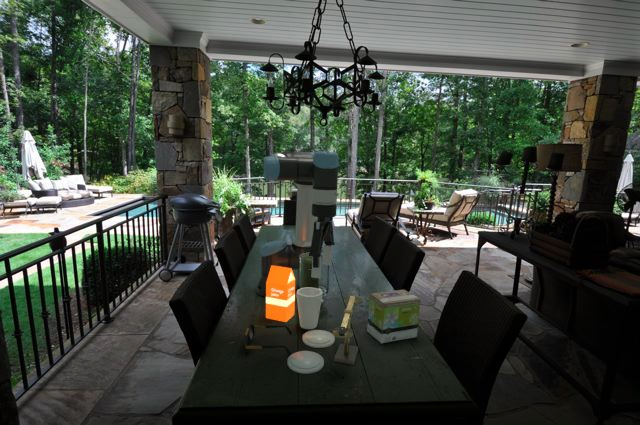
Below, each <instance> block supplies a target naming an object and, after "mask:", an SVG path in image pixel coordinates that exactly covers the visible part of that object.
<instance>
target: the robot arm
mask: <svg viewBox="0 0 640 425" xmlns="http://www.w3.org/2000/svg"><path fill="white" fill-rule="evenodd" d="M339 165H340V162H339V154H338V152H336V151H315V152H312V151H281V152H276V153H274V154H271V155H270V156H265V157H264V159H263V178H264V179H265V180H267V181H268V180H269V181H272V182H273V181H293V184H294V185H295V187H296V189H297V190H296V212H295V214H296V215H295V237H294V238H293V239H292V240H291V243H290V244H288V242H287V241H286V240H273V241H267V242H265V243H264V244H263V245H261V252H260V258H261V260H260V261H261V263H260V264H261V265H260V278H259V280H258V284H257V287H256V292H257V295H260V296H263V297H265V298H266V282H267V279H268V275H269V272H270V268H271V265H273V266H280V267H287V268H292V271H296V270H297V271H299V255H300V254H302V253H306V252H310V253H309V256H312V269H311V273H310V274H311V275H310V276H311V278H312V279H313V278H314V279H321V278H322V265H323V266H332V260H333V259H332V258H333V257H332V256H333V246H335V245H336V244H335V239H334V238H335V237H334V236H335V235H334V226H333V218H334V217H337V208H338V207H337V205H338V204H337V202H338V199H337V198H338V197H339V196H340V193H339V192H338V181H339V178H338V177H339ZM316 218H317V221H316ZM322 251H323V253H322Z"/></svg>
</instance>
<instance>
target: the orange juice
mask: <svg viewBox="0 0 640 425" xmlns="http://www.w3.org/2000/svg"><path fill="white" fill-rule="evenodd" d="M295 302H296V277H295V274H294V270H292V268H287V267H280V266H273V265H271V268H270V272H269V275H268V279H267V282H266V297H265V318H266V319H267V320H268V319H269V320H274V321H279V322H284V323H287V322H288V321H289V320H290V319H292V318H293V316H294V315H295V307H296V306H295V304H296V303H295Z"/></svg>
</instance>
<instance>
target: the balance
mask: <svg viewBox="0 0 640 425" xmlns="http://www.w3.org/2000/svg"><path fill="white" fill-rule="evenodd" d="M343 302H344V303H345V304H347V306H346V308H344V311H343V319H342V322H341V325H340V326H338V327H335V328H333V330H332V334H333V335H334V337H335V338H338V339H340V340H341V339H343V340H344V343H339V345H338V348H337V350H336V353H335V355H334V358H333V362H334V363H341V364H344V365H345V364H346V365H354V364H355V360H356V358H357V355H358V351H359V346H356V345H350V343H351V339H350V338H352V337H353V336H354V334H355V333H354V330H353V329H351V320H352V317H353V314H354V305H361V304H362V303H363V298H361V297H359V296H355V295H348V296H345V297H344V298H343Z"/></svg>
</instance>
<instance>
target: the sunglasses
mask: <svg viewBox="0 0 640 425" xmlns="http://www.w3.org/2000/svg"><path fill="white" fill-rule="evenodd" d="M277 328H285V329H286V330H287V332H288V334H289V335H293V332H292V330H291V329H290V327H288V326H287V325H281V324H280V325H279V324H278V325H274V324H273V325H271V324H269V325H268V324H266V325H265V324H263V325H254V324H252V323H250V324H249V325H248V326H247V327H246V331H245V333H244V344H245V349H246V352H247V353H246V354H247V355H248V354H251V349H255V350H258V349H260V350H261V349H277V348H278V349H279V348H281V349H285V351H286V354H287V356H288V357H289V356H290V355H292V354H293V353H292V351H291V350H290V349H289V348H288V347H287V346H285V345H279V344H277V345H276V344H275V345H270V344H269V345H251V342H252V341H253V339H254V338H255V333H256V331H255V330H256V329H277Z"/></svg>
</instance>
